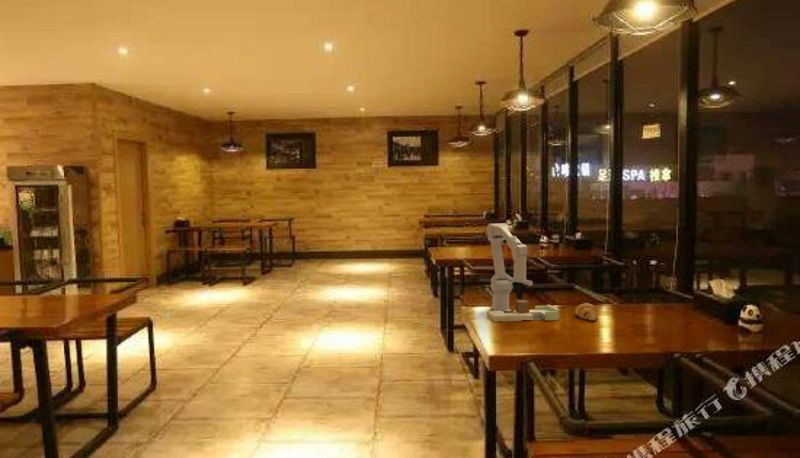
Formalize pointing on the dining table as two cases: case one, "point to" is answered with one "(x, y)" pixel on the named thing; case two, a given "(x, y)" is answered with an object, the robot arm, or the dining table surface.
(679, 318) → the dining table surface
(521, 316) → the board
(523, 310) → the walnut block
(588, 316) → the croissant
